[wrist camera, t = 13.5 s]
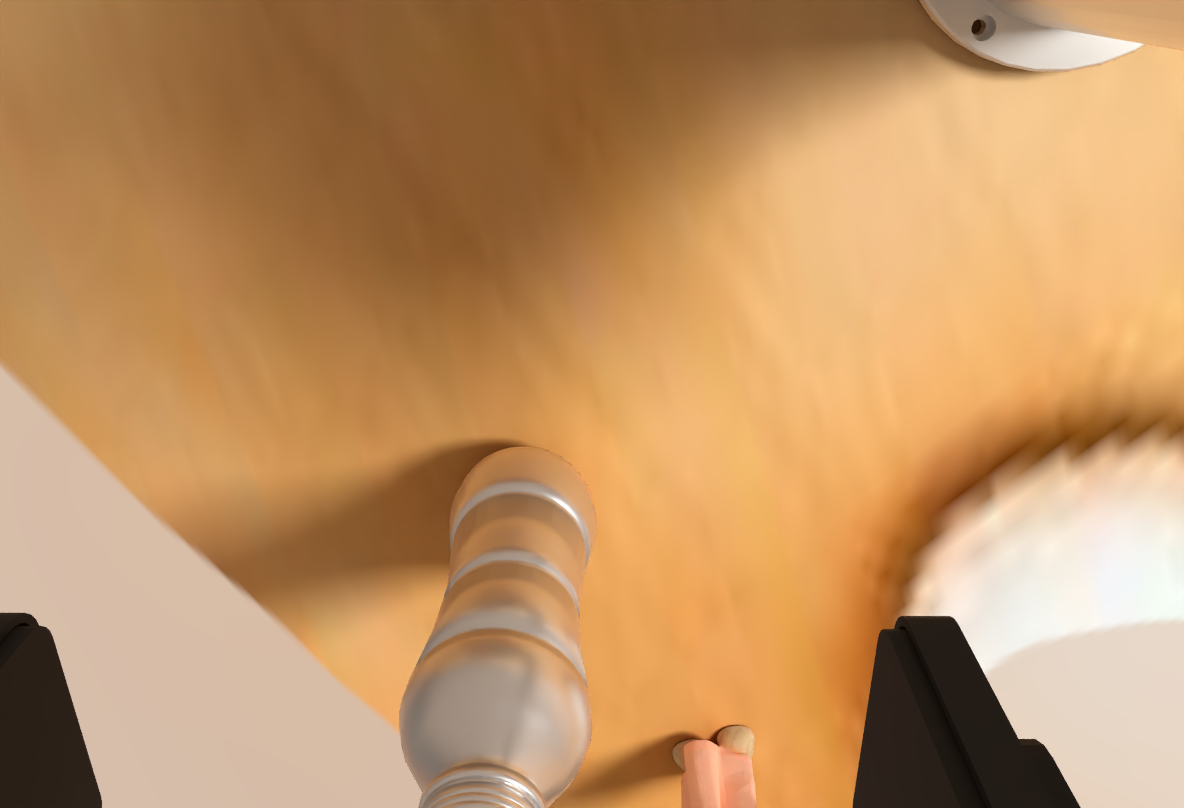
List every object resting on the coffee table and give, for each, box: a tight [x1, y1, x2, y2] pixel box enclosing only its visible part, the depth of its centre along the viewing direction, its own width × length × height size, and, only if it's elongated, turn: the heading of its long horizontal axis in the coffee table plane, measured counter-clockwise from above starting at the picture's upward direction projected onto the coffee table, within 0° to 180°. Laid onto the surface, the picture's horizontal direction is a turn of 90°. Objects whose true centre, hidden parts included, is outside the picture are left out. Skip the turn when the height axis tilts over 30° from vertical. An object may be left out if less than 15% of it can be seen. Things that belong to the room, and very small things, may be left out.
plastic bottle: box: [399, 446, 597, 808], centre depth 36 cm, size 6×7×20 cm
